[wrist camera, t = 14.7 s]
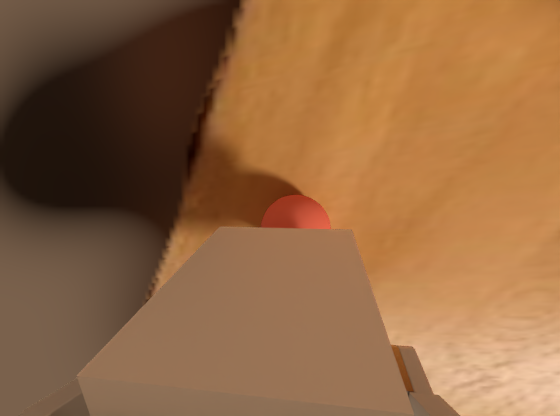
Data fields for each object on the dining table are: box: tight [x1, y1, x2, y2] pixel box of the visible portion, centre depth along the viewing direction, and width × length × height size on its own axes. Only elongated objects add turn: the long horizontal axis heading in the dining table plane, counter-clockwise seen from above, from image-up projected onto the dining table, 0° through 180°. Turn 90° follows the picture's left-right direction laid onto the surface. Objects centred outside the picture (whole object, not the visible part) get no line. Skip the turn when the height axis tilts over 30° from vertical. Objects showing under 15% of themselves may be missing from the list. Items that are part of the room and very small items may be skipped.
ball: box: [261, 195, 331, 229], centre depth 19 cm, size 5×5×5 cm
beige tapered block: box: [77, 227, 414, 416], centre depth 10 cm, size 7×7×9 cm
